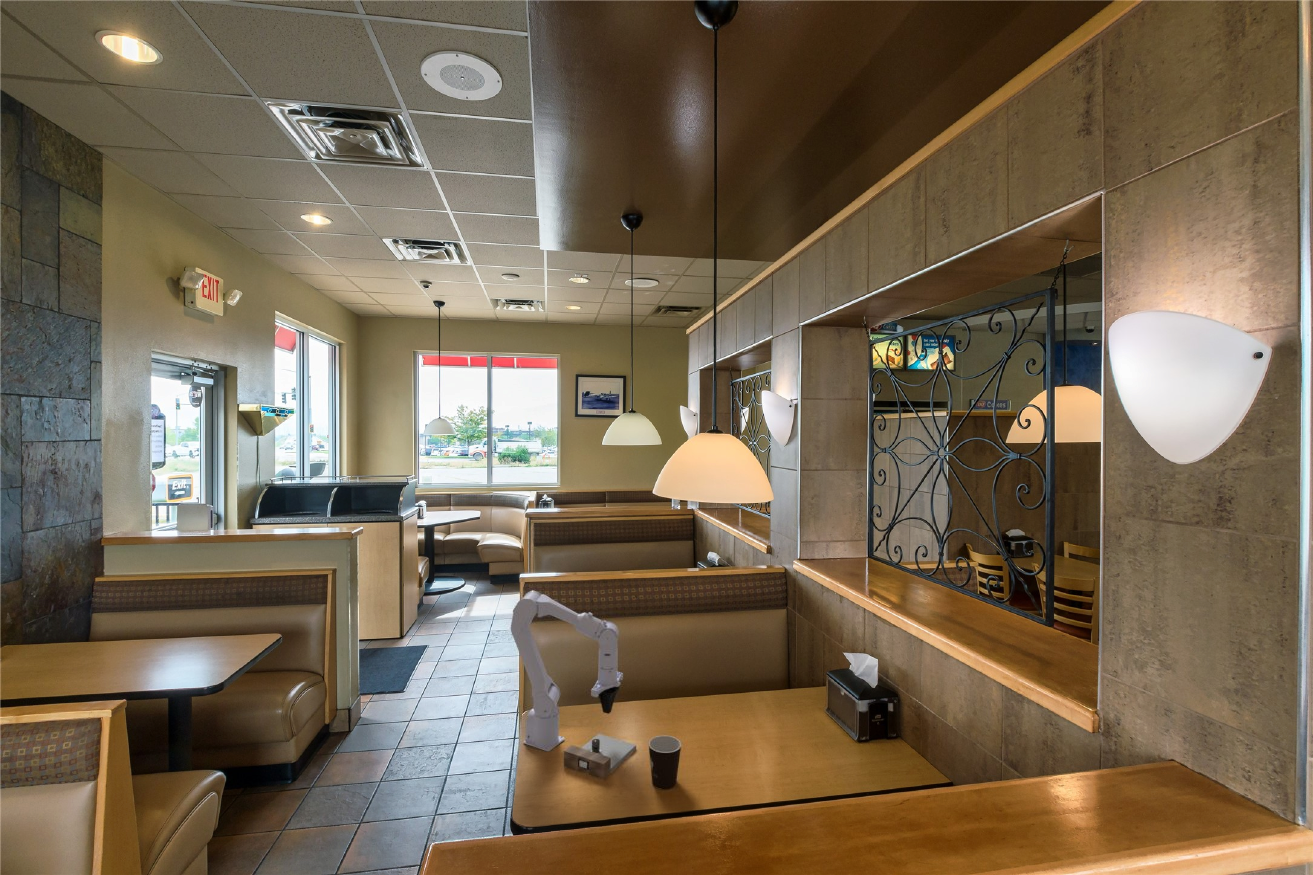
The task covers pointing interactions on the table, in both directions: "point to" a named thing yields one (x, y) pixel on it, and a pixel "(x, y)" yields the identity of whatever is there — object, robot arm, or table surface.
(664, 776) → the coffee mug
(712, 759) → the table surface
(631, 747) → the door panel
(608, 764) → the block
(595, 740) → the bolt
